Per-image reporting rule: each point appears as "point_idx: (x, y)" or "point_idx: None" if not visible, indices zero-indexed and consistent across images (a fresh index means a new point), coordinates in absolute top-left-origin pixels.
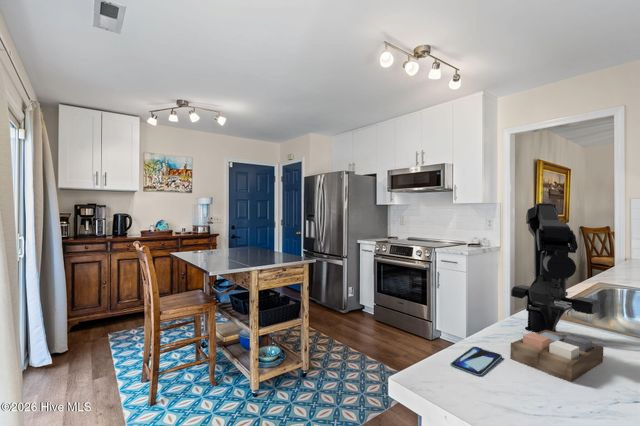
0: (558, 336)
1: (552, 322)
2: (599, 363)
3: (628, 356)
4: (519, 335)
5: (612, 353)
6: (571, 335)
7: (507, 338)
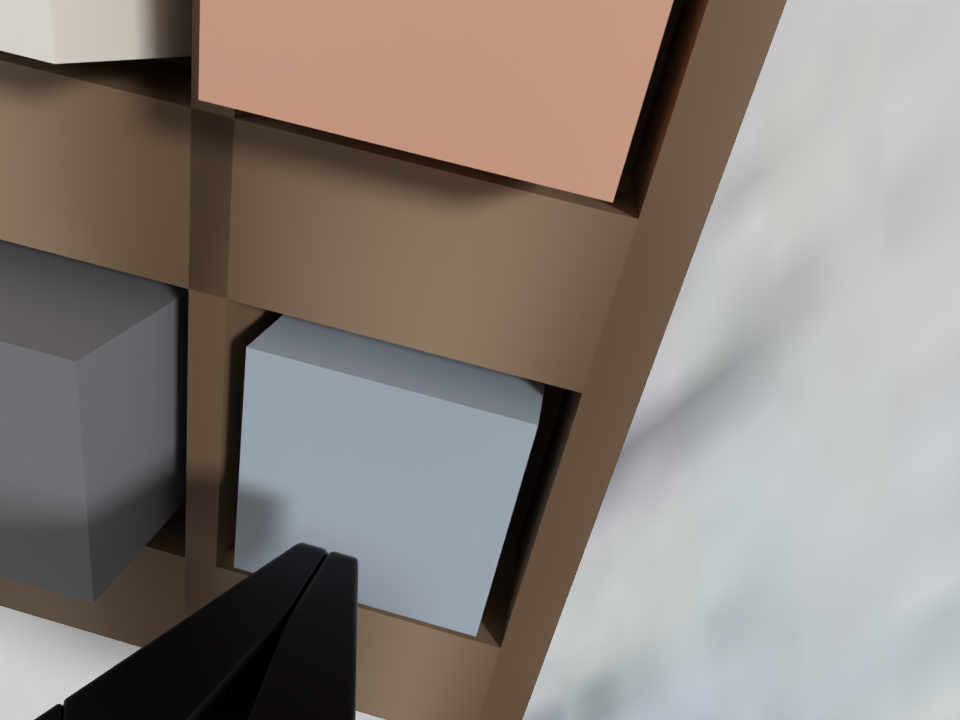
0: None
1: (190, 659)
2: None
3: (10, 705)
4: (805, 678)
5: None
6: (65, 550)
7: (950, 502)
